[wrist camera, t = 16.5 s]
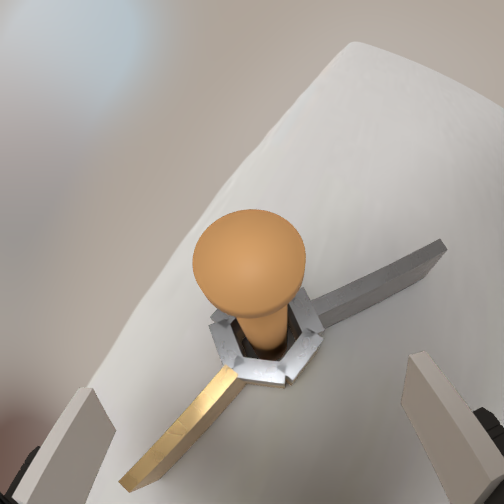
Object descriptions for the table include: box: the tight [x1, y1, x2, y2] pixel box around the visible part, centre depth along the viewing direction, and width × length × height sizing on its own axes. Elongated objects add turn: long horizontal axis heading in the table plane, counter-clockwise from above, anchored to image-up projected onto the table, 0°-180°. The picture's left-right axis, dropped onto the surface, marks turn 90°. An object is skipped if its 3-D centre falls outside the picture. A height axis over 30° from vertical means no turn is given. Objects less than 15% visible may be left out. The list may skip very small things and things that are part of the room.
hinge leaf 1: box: [118, 313, 319, 493], centre depth 22 cm, size 8×21×6 cm, turn 141°
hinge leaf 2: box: [209, 239, 447, 386], centre depth 25 cm, size 20×8×6 cm, turn 111°
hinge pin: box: [193, 209, 306, 361], centre depth 19 cm, size 4×4×17 cm
